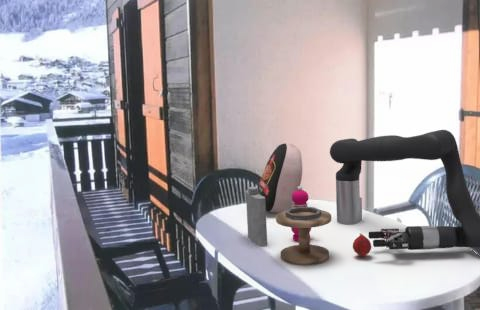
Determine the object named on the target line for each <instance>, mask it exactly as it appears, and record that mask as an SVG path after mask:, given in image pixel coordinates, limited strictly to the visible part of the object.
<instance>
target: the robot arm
mask: <svg viewBox="0 0 480 310" xmlns="http://www.w3.org/2000/svg"><path fill="white" fill-rule="evenodd" d="M459 151H460V150H459V148H458V143H457V140H456V137H455V136H454V135H453V133H452V132H451V131H449V130H447V129H438V130H435V131H434V130H433V131H430V132H426V133H423V134H419V135H414V136H408V137H407V136H406V137H405V136H400V135H390V134H388V135H380V136H374V137H373V136H372V137H369V138H365V139H360V140H357V139H356V138H352V137H350V138H345V139H340V140H336V141H335V142H332V144H331V146H330V148H329V155H330V158H331V159H332V160H333V161H334V162H335V163H337V164H342V166H341V168H340V169H338V171H336V173H335V192H336V194H335V195H336V196H335V197H336V198H335V199H336V222H337V223H338V224H344V225H354V224H359V223H360V222H362V221H363V198H362V197H361V195H360V194H361V191H360V186H361V185H360V175H361V173H362V161H365V162H395V161H403V160H406V159H413V160H414V159H415V160H424V161H425V160H426V161H437V160H441V163H442V165H443V167H444V171H445V180H446V181H445V191H446V192H445V194H446V197H447V202H448V204H449V207H450V209H451V212H452V214H453V216H454V218H455V219H456V220H457V221H458V222H459V223H460V226H459V225H458V226H449V225H443V226H441V225H440V226H439V225H438V226H436V225H435V226H432V225H420V226H419V225H414V226H413V225H412V226H411V225H410V226H409V225H408V226H406V227H405V229H404V232H403V231H400V229H399V228H381V229H380V230H379V231H368V239H369V240H372V239H373V240H372V246H373V247H374V248H383V247H384V248H388V249H389V250H390V251H391V250H409V251H416V250H417V251H418V250H419V251H421V250H425V251H426V250H434V249H435V250H436V249H450V248H480V214H479V213H478V212H477V209H476V206H475V203H474V200H473V198H472V195H471V193H470V191H469V188H468V185H467V182H466V178H465V174H464V170H463V166H462V160H461V156H460V152H459Z"/></svg>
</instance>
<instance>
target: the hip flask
mask: <svg viewBox="0 0 480 310" xmlns="http://www.w3.org/2000/svg"><path fill="white" fill-rule="evenodd" d="M258 187H259V186H258ZM258 187H257V186H250V187H248V188H247V189H246V190H245V201H246V203H245V204H246V221H247V237H248V239H250V240H249V241H251V242H252V243H254V244H255V245H256V246H258V247H260V248H262V247H267V246H268V231H267V230H268V228H267V211H266V204H265V197H263V196H261V195H259V194H258Z"/></svg>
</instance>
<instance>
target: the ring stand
mask: <svg viewBox="0 0 480 310" xmlns="http://www.w3.org/2000/svg"><path fill="white" fill-rule="evenodd" d="M331 221H332V214H331V213H330V212H328V211H327V210H323V209H319V208H317V207H313V206H307V207H296V208H294V207H292V208H291V209H288V210H287V211H283V212H280V213H276V215H275V222H276V223H277V224H278V225H280V226H283V227H286V228H291V227H292V228H298V231H299V242H298V244H296V245H290V246H287V247H284V248H282V249H281V251H280V259H281V260H282V261H284V262H285V263H286V264H291V265H298V266H311V265H312V264H313V265H318V264H322V263H324V262H326V261H328V260H329V259H330V251H329V250H328V248H326V247H323V246H321V245H317V244H316V245H315V244H311V233H310V232H311V231H310V232H309V228H311V229H312V228H317V227H323V226H326V225H328V224H330V223H331Z"/></svg>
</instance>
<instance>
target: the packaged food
mask: <svg viewBox="0 0 480 310" xmlns="http://www.w3.org/2000/svg"><path fill="white" fill-rule="evenodd" d="M302 158H303V157H302V153H301V150H300V149H299V147H297V146H296V145H295V144H294V143H293V144H292V143H285V142H284V143H282V144H279V145H277V147H276V148H275V149H274V151H273V152H272V154H271V155H270V157H269V158H268V160H267V162H266V165H265V167H264V170H263V172H262V174H261V178H260V181H259V183H258V190H257V191H258V193H257V194H259V195H261V196H263V197H265V204H266V212H270V213H276V214H279V213H280V212H283V211H287V210H288V209H291V208H293V207H294V205H293V204H294V202H293V200H292V194H293V193H294V192H295V191H297V190H298V189H297V188H298V186H301V183H302V178H303V161H302V160H303V159H302Z"/></svg>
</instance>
